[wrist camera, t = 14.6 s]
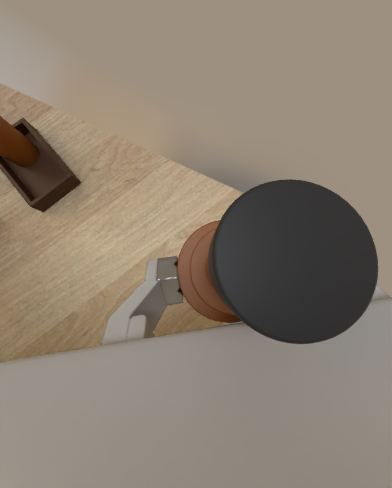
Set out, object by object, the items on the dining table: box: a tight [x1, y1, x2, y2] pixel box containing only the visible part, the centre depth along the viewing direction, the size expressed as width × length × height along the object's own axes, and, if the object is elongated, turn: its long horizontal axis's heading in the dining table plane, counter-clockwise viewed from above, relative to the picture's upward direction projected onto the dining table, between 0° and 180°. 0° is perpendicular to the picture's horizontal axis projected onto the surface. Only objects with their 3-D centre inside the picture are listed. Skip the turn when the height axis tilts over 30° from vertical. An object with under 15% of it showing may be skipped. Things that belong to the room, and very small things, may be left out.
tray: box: [0, 118, 81, 212], centre depth 33 cm, size 14×8×3 cm, turn 42°
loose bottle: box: [177, 180, 378, 344], centre depth 11 cm, size 5×5×16 cm
